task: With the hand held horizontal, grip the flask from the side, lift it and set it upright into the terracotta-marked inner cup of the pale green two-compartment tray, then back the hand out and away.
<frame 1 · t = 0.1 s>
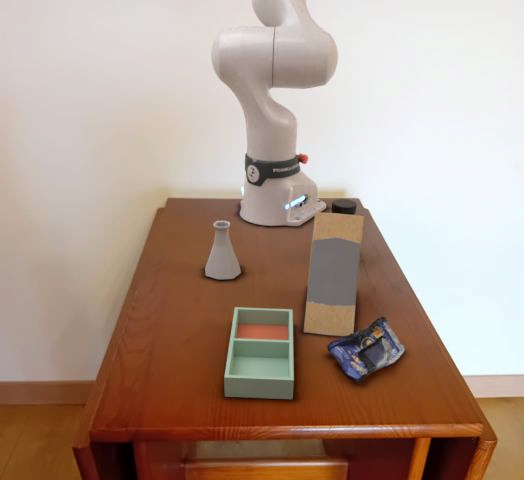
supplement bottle: (337, 259, 111), on the table
snack package: (366, 363, 83), on the table
flask: (223, 273, 106), on the table
two-compartment tray: (261, 358, 83), on the table
sandwich container: (329, 312, 95), on the table
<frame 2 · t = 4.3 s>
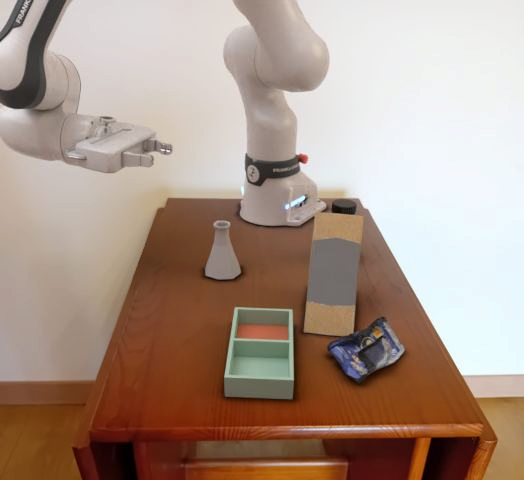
hand: (162, 155, 95), 21 cm above the table, tool horizontal, fingers open, 8 cm apart
nothing on the table moved.
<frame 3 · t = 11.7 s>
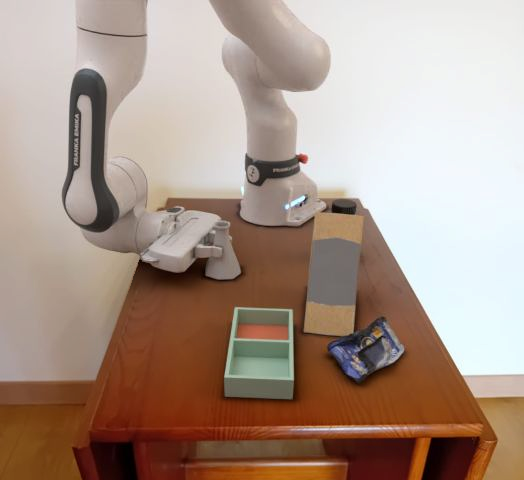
hand: (226, 246, 102), 6 cm above the table, tool horizontal, fingers closed on flask, 3 cm apart
flask: (223, 273, 106), on the table, touching gripper
everything else where it was.
when the fingers open (6 cm above the table, at t = 23.2 s): flask stays where it is, resting on two-compartment tray.
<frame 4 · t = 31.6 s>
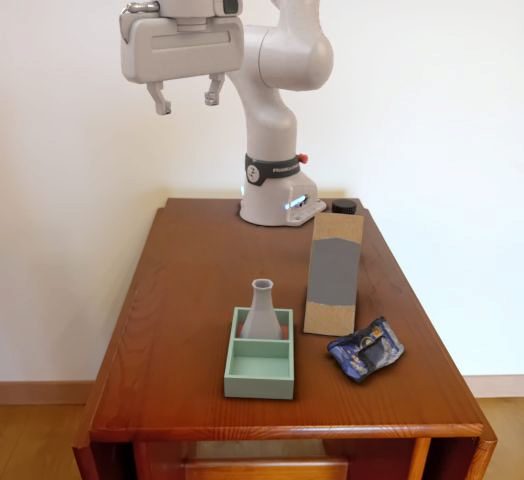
hand: (188, 109, 81), 31 cm above the table, tool pointing down, fingers open, 8 cm apart
flask: (261, 339, 86), point 1 cm above the table, touching two-compartment tray
everything else where it was.
at the end: flask 0.2 cm from the target spot in the two-compartment tray, point 0.5 cm above the two-compartment tray's base; flask tilted 0°; the gripper is holding nothing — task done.
